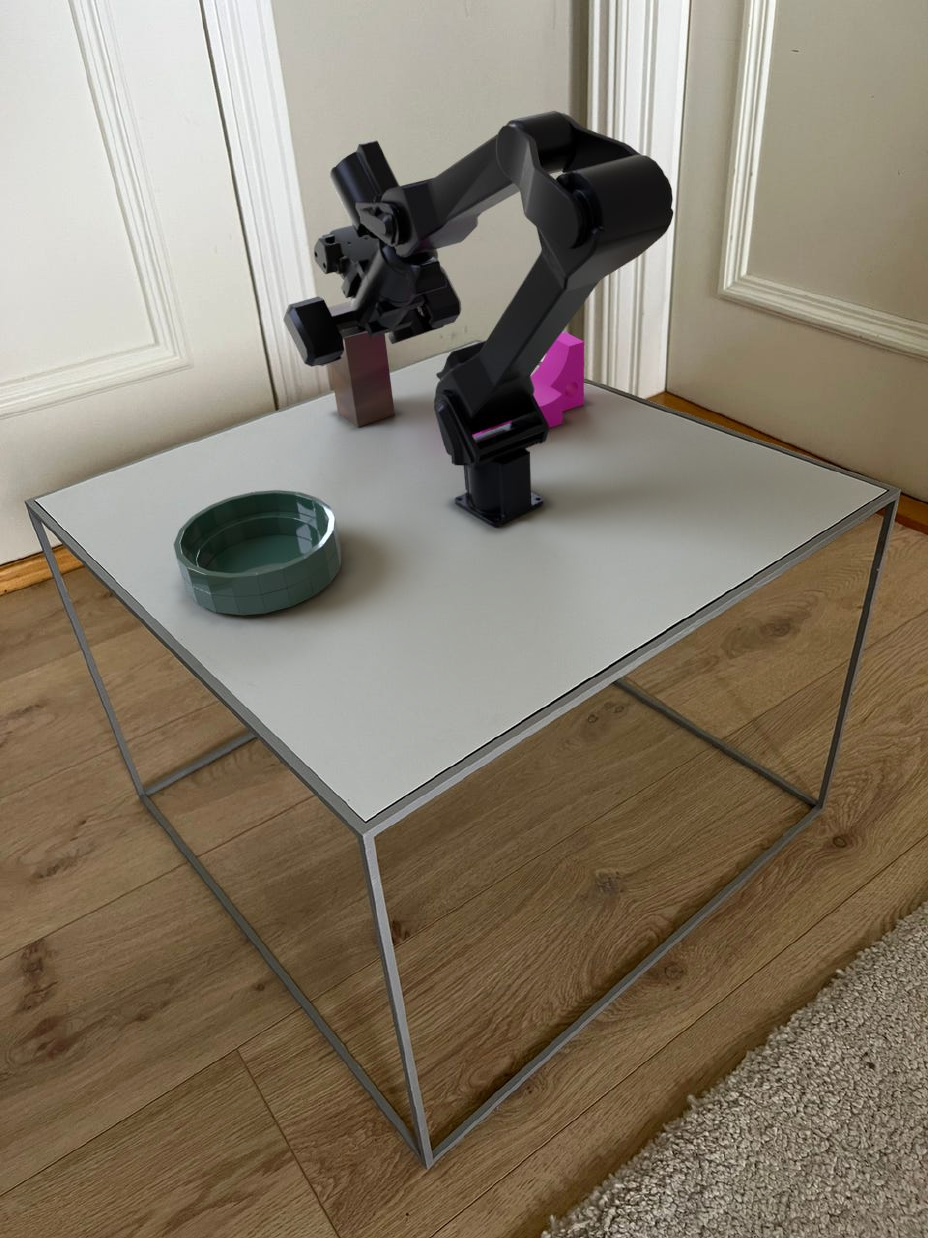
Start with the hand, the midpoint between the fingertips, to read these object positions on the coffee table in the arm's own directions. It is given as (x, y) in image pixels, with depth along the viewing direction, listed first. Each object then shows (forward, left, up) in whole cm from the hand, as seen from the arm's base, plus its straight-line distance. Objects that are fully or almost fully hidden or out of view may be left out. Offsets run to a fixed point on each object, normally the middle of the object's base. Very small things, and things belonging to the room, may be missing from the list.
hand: (356, 350), depth 107 cm
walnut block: (0, 0, -8) cm, 8 cm away
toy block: (-15, -12, -8) cm, 21 cm away
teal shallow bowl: (-21, +25, -8) cm, 34 cm away
